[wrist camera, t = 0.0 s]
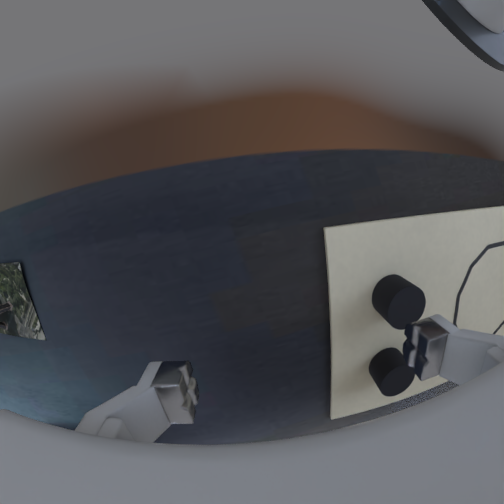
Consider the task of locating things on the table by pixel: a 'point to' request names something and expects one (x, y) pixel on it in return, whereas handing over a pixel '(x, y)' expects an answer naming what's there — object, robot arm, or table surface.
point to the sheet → (418, 273)
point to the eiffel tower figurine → (17, 305)
